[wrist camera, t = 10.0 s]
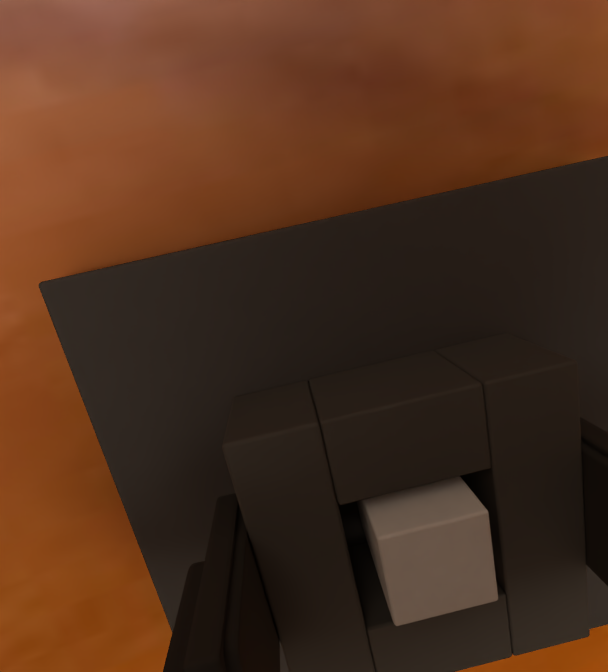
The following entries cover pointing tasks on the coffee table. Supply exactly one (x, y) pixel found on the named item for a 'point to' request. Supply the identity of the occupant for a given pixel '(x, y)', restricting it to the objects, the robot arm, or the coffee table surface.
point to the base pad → (336, 358)
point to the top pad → (407, 472)
